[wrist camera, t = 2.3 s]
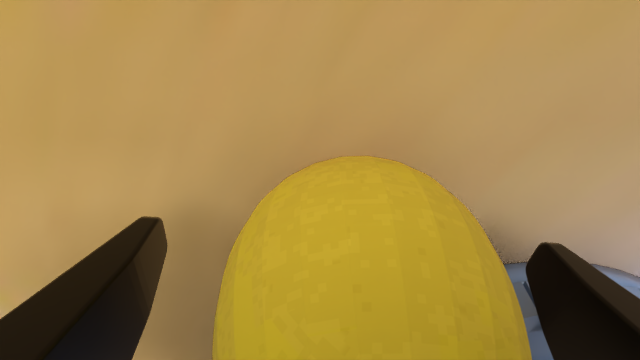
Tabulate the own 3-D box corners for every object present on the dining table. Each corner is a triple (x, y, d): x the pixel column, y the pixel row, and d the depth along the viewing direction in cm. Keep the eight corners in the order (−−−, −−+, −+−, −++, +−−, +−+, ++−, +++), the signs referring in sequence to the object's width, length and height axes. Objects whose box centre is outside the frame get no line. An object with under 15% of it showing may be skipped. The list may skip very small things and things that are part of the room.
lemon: (478, 111, 9) (860, 599, 3) (411, 259, 12) (513, 640, 6) (253, 79, 9) (71, 594, 2) (245, 243, 12) (162, 643, 5)
